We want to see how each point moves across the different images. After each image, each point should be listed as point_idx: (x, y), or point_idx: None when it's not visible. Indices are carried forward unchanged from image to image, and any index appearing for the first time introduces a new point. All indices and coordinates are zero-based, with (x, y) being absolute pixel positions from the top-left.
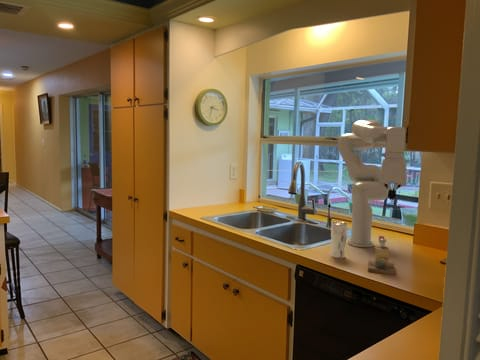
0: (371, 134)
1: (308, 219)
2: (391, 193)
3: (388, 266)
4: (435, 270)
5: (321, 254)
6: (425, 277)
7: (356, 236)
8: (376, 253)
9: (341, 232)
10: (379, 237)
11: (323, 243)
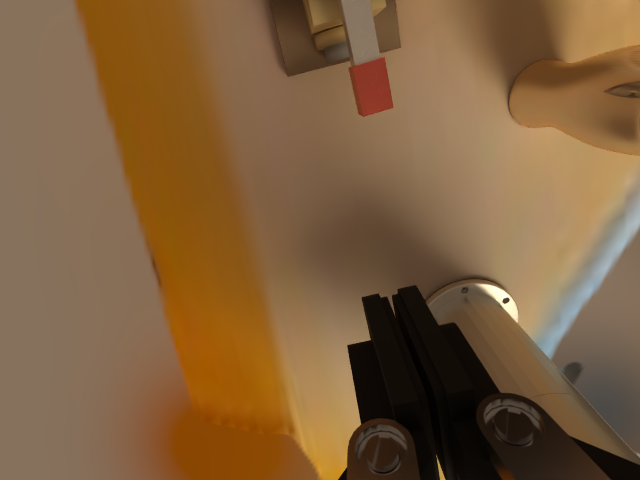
0: None
1: None
2: (426, 350)
3: (299, 7)
4: (133, 143)
5: None
6: (134, 2)
7: (497, 312)
8: None
9: (634, 52)
10: (383, 57)
11: (609, 249)
